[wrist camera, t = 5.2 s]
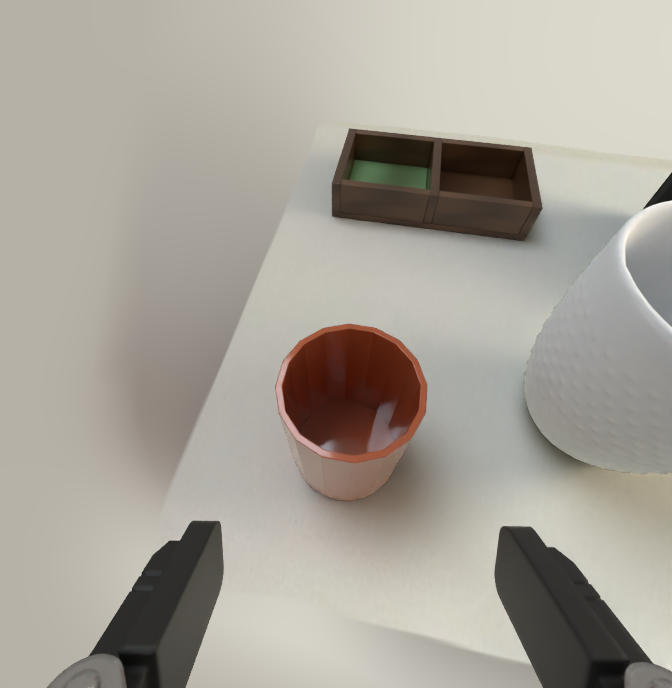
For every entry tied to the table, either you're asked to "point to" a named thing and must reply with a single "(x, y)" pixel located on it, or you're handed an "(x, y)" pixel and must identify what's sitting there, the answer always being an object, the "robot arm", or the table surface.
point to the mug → (612, 354)
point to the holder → (437, 184)
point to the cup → (349, 408)
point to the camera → (662, 193)
